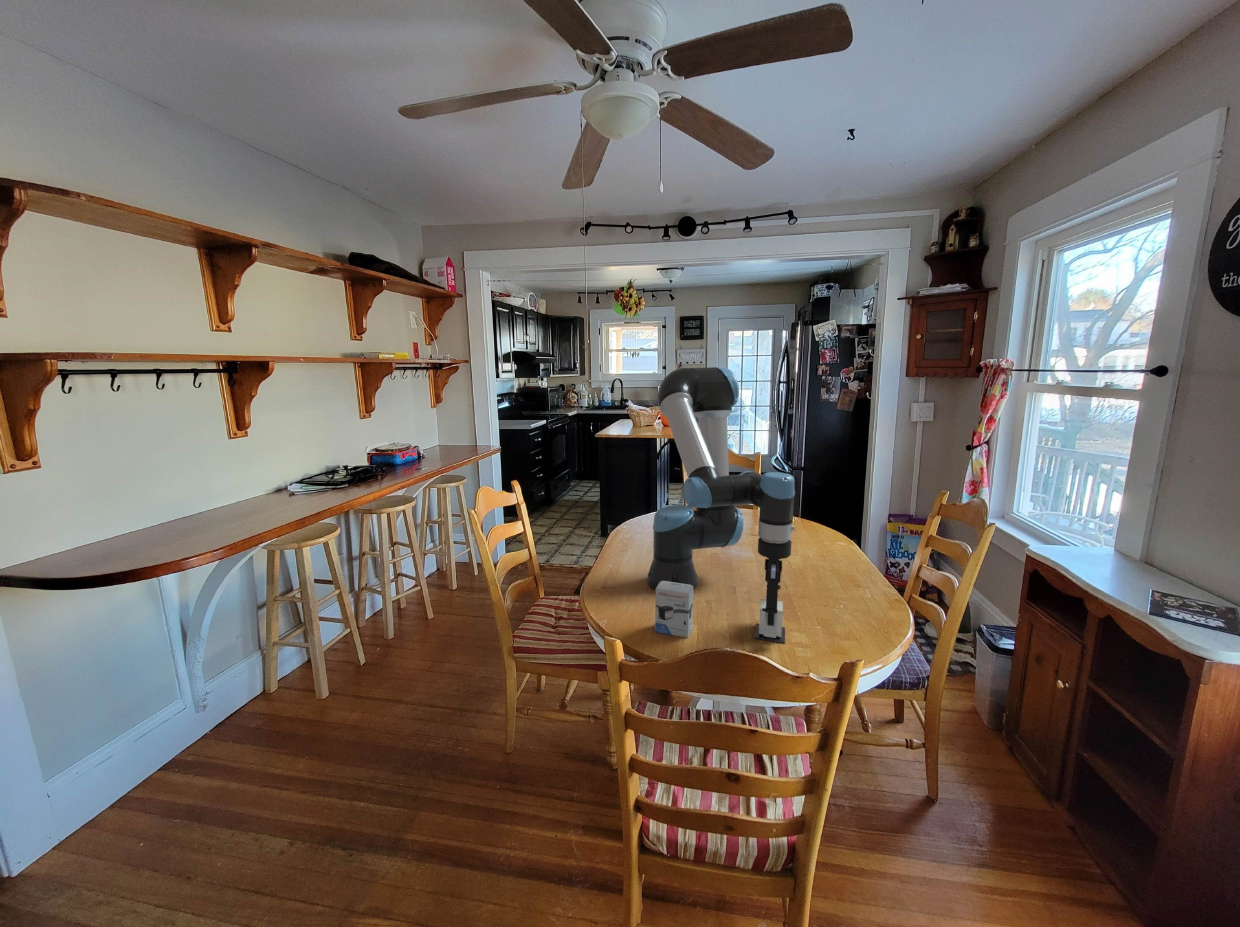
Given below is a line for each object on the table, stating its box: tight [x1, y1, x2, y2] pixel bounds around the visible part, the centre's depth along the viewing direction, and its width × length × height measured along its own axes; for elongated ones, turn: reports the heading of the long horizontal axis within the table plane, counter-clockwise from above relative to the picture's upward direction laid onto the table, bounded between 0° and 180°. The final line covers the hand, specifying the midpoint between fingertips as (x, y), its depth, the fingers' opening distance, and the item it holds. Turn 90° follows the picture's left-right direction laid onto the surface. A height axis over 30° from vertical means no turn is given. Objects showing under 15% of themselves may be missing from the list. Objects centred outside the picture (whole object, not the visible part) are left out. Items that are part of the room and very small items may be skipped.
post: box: [753, 622, 786, 644], centre depth 124 cm, size 7×7×7 cm
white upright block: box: [758, 598, 784, 637], centre depth 124 cm, size 5×5×7 cm
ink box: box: [654, 581, 694, 638], centre depth 125 cm, size 8×5×12 cm, turn 69°
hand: (770, 624), depth 124 cm, fingers open, 10 cm apart
